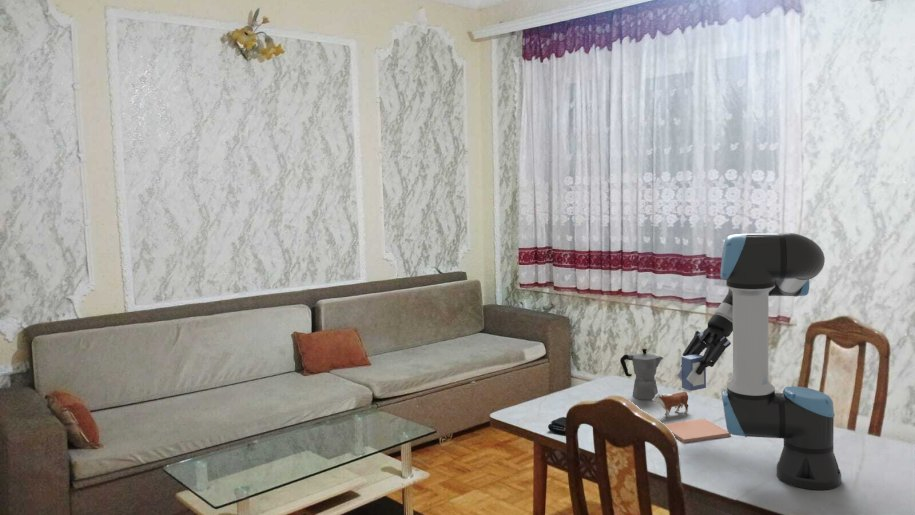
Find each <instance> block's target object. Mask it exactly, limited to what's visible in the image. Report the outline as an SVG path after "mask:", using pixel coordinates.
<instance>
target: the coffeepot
mask: <svg viewBox="0 0 915 515" xmlns="http://www.w3.org/2000/svg"><path fill="white" fill-rule="evenodd" d="M641 351H642V352H641V353H636V354H624V355H622V357H620V360H619V361H620V362H619V363H620V364H621V367H622V370H623V372H624V375H625V376H626V377H629V378H630V377H632V375H633V374H632V373H629V370H628V366H627V362H626V360H627V361H631V362H632V366H633V371H634V372H633V373H634V374H635V379H634V384H633V392H632V396H633V397H634V398H635V399H638V400H642V401H644V400H645V401H650V400H651V401H652V399H653V398H654V397H655V395H656V394H657V393H659V391H658V385H657V381H656V378H655V377H656V374H657V368H658V367H659V365H660V363H661V361H662V360H664V357H663V356H661V355H656V354H652V353H647V351H648V349H647V348H642V350H641Z"/></svg>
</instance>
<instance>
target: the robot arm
mask: <svg viewBox="0 0 915 515" xmlns="http://www.w3.org/2000/svg"><path fill="white" fill-rule="evenodd" d="M723 243H724V244H723V249H722V254H721V263H720V264H721V266H720V272H719V275H720V279H721V280H724V281H726V286H725V287H727V288H728V291H727V294H726V295H725V297H724V299H723V300H722V301H721V303H720V304H719V305H718V307H717V309H716V310H715V311H714V314H713V315H712V316H711V317H710V319H709V320H708V322H707V328H705V329H704V330H703V331H701V332H700V331H699V330H696V331H695V332H694V336H693V338H692V339H691V340H690V342H689V344H688V345H687V347H686V348H685V350H684V352H683V353H682V356H688V355H693V354H698V355H701V353H702V352H703V351H704V350H705V351H704V353H703V355H702V356H703V357H702V360H699V361H700V362H701V363H700V362H697V364H696V365H695V367H694V368H693V370H692V371H691V373H690V374H689V376H688V377H687V380H688V381H689V382H690V383H691V384H694V382H695V381H696V379H697V378H698V376H699V375H701V374H702V372H703V371H704V369H705V368H706V369H707V368H708V367H710V368H713V367H714V366H715V364H716V363H717V362H718V360H719V359H720V357H721V356H722V355H723V353H724V352H725V350H726V349H727V348H728V347H729V346H730V345H732V363H733V364H732V368H733V369H732V375H733V376H732V380H731V381H729V382H728V383H727V385H726V390H725V389H724V390H722V391H721V400H722V407H723V411H724V419H725V426H726V430H727V431H728V432H729V433H730V434H731V436H732V435H733V436H738V437H739V436H741V437H745V438H747V437H748V438H750V437H751V438H768V439H783V447H782V451H781V452H780V453H781V454H780V457H779V460H778V462H777V463H776V468H775V469H776V472H775V473H776V476H777V478H778V479H779V480H781V481H782V482H784V483H785V484H788V485H790V486H794V487H797V488H800V489H801V488H802V489H807V490H816V491H819V490H820V491H821V490H823V491H825V490H831V489H835V488H838V487H839V486H841V484H842V473H841V470H840V467H839V464H838V461H837V457H836V455H835V453H834V432H835V431H834V425H835V423H834V421H835V420H834V419H835V418H834V417H835V416H836V415H835V411H834V402H833V399H832V398H831V397H830V396H829V395H828V394H826V393H824V392H823V391H819V390H816V389H813V388H809V387H804V386H796V385H793V386H786V387H784V388H783V390H782V393H781V392H779V393H778V392H776V391H775V390H776V388H775V386H774V385H773V384H772V383H771V382H770V380H769V297H805V296H808V294H809V292H810V280H811V279H813V278H815V277H817V276H818V275H819V274H820V273H821V272H822V271H823V268H824V266H825V262H826V261H825V259H826V258H825V254H824V252H823V249H822V248H821V246H819V245H818V243H817V242H815V241H814V240H812V239H810V238H808V237H807V236H804V235H801V234H798V233H792V232H781V233H779V232H777V233H775V232H774V233H771V232H770V233H766V232H765V233H739V234H738V233H737V234H731V235H728V236H727V237H726V238H725V240H724V242H723ZM731 334H732V342H731V341H730V340H729V339H728V337H729V336H731ZM675 376H676V377H677V378H678V379H679V380H680V381H682V364H681V365H680V367H679V370H678V371H677V372H676V374H675Z"/></svg>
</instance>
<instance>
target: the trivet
mask: <svg viewBox="0 0 915 515" xmlns="http://www.w3.org/2000/svg"><path fill="white" fill-rule="evenodd" d="M665 425H666V426H667V427H668V428H669V429H670V430H671V431H672V433H673V434H674V436H675V437H674V436H673V437H674V438H676V437H677V438H678V440H679V439H680V440H679V441H680V442H682V443H684V444H685V443H690V442H692V443H693V442H699V441H705V440H712V439H718V438H720V439H721V438H726V437H731V436H732V434H730V433H729V432H728V430H727V429H724V428H722V427H721V426H719V425H717V424H716V423H713V422H711V421H710V420H708V419H706V418H700V419H698V418H697V419H693V420H692V419H691V420H685V421H678V422H672V423H671V422H670V423H665ZM677 438H676V439H677Z"/></svg>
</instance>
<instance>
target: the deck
mask: <svg viewBox="0 0 915 515" xmlns="http://www.w3.org/2000/svg"><path fill="white" fill-rule="evenodd" d="M702 357H703V355H702V354H699V355H698V354H693V355H688V356H683V355H682V356H681V358H680V359H681V361H680V362H681V365H682V380H681V388H682V389H683V390H687V391H689V392H692V391H693V392H694V391H697V390H702V389H706V388H707V372H706V371H707V367H706V368H705V369H704V371H703V372H702V374H701V375H699V376H698V378H697V379H696V381H695V382H694V384H691V383H690V382H689V381H688V380H687V377H688V376H689V374H690V373H691V371H692V370H693V368H694V367H695V365H696V364H697V362H700V361H699V360H702ZM700 363H701V362H700Z"/></svg>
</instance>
